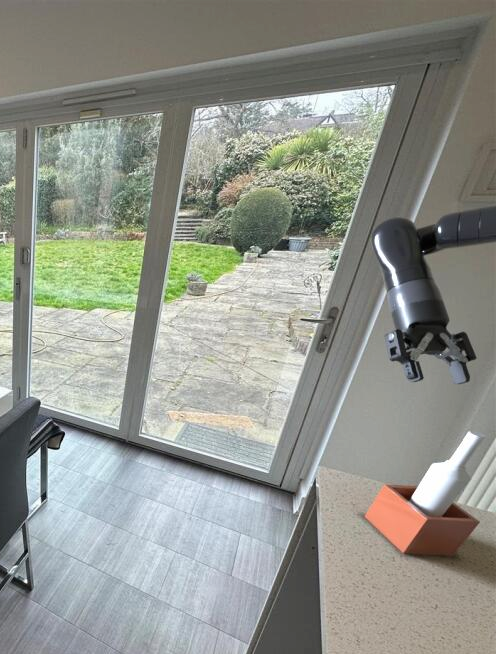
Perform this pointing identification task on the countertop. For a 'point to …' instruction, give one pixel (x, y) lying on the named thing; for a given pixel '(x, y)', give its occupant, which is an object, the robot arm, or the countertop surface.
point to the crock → (418, 523)
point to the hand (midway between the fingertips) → (439, 382)
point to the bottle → (446, 479)
